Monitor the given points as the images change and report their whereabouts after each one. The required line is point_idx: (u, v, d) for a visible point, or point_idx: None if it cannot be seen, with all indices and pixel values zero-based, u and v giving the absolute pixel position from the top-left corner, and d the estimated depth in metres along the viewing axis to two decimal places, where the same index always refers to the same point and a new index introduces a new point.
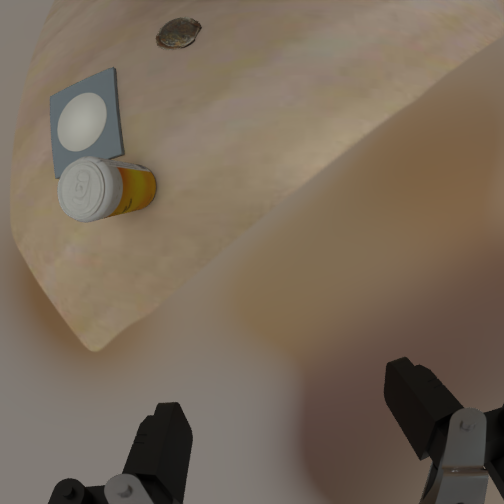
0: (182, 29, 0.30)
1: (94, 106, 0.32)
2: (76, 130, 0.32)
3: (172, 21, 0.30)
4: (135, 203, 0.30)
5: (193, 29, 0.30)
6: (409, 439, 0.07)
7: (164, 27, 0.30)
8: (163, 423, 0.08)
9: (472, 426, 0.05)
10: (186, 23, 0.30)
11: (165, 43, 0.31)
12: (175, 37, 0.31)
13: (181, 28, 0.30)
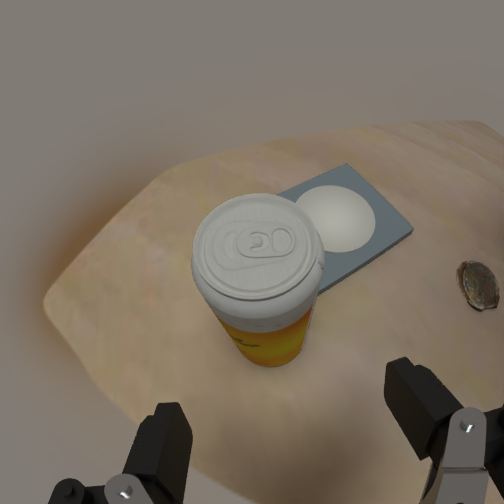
0: (485, 287, 0.23)
1: (359, 227, 0.28)
2: (321, 215, 0.29)
3: (486, 269, 0.24)
4: (250, 350, 0.18)
5: (490, 300, 0.22)
6: (409, 439, 0.07)
7: (477, 264, 0.25)
8: (163, 423, 0.08)
9: (472, 426, 0.05)
10: (492, 287, 0.23)
11: (464, 278, 0.24)
12: (474, 285, 0.24)
13: (485, 285, 0.23)
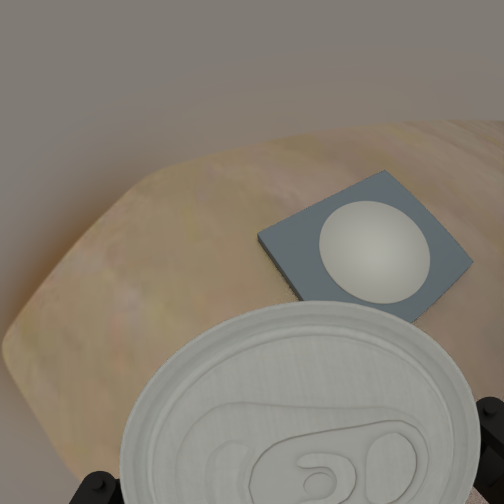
0: None
1: (411, 263, 0.19)
2: (359, 246, 0.20)
3: None
4: None
5: None
6: None
7: None
8: None
9: None
10: None
11: None
12: None
13: None
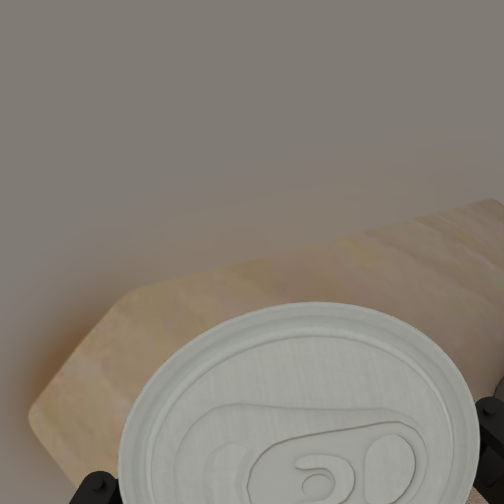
0: None
1: None
2: None
3: None
4: None
5: None
6: None
7: None
8: None
9: None
10: None
11: None
12: None
13: None
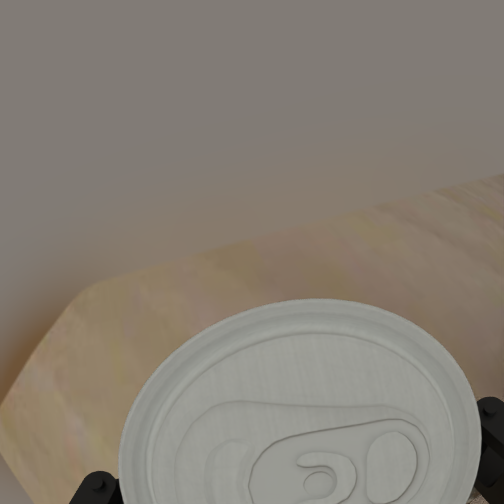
0: None
1: None
2: None
3: None
4: None
5: None
6: None
7: None
8: None
9: None
10: None
11: None
12: None
13: None
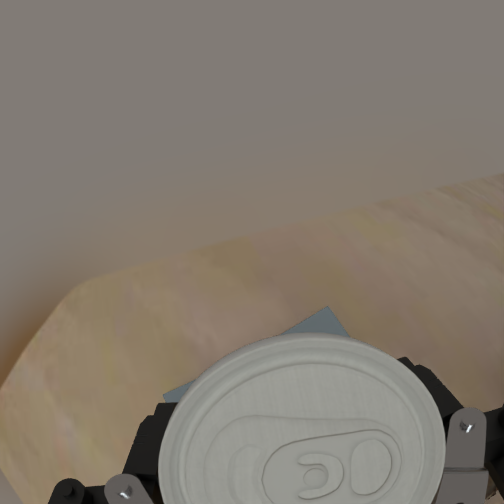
0: None
1: None
2: None
3: None
4: None
5: (488, 491, 0.09)
6: None
7: None
8: (163, 423, 0.08)
9: (472, 426, 0.05)
10: None
11: None
12: None
13: (488, 477, 0.10)
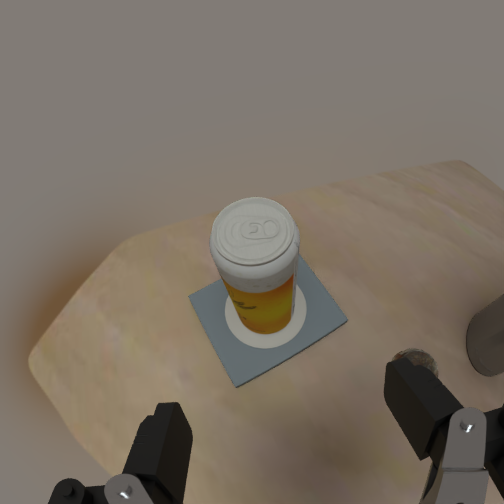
0: None
1: None
2: None
3: (424, 355, 0.26)
4: (249, 314, 0.24)
5: None
6: (409, 439, 0.07)
7: (413, 353, 0.27)
8: (163, 423, 0.08)
9: (472, 426, 0.05)
10: None
11: None
12: None
13: None
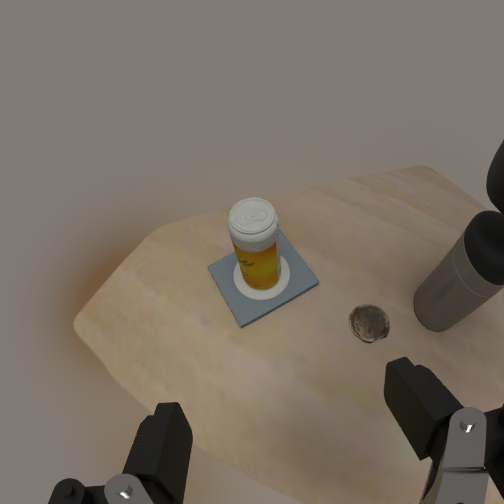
0: (374, 323, 0.40)
1: None
2: None
3: (376, 309, 0.41)
4: (250, 270, 0.38)
5: (379, 332, 0.39)
6: (409, 439, 0.07)
7: (368, 307, 0.41)
8: (163, 423, 0.08)
9: (472, 426, 0.05)
10: (382, 322, 0.40)
11: (355, 321, 0.40)
12: (364, 324, 0.40)
13: (375, 322, 0.40)
